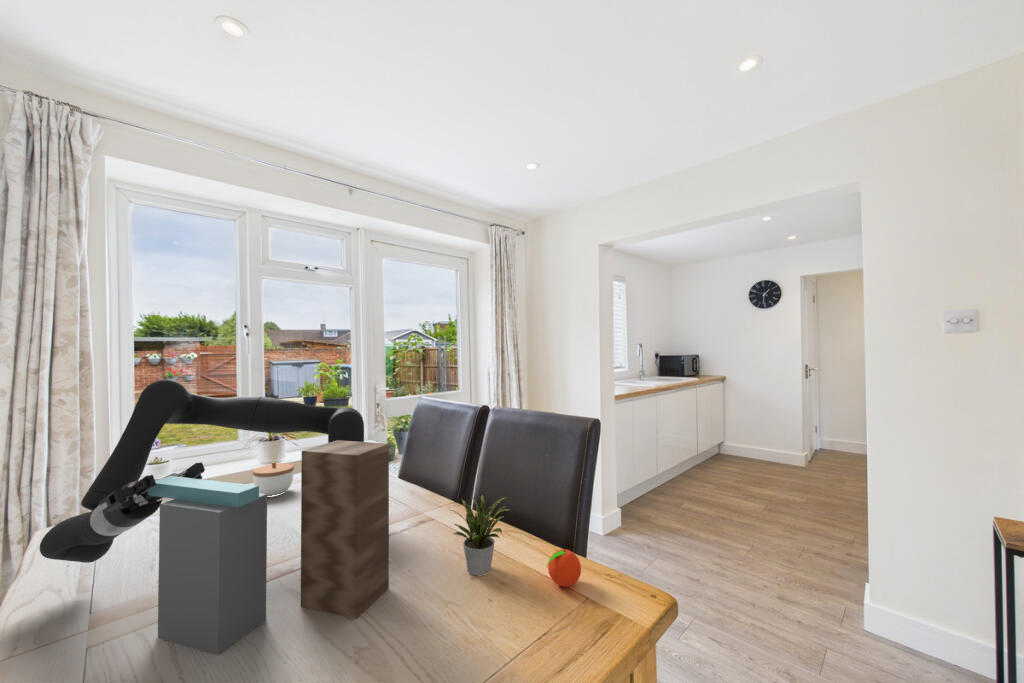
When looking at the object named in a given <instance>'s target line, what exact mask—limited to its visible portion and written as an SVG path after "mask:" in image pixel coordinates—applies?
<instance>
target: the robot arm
mask: <svg viewBox="0 0 1024 683" xmlns="http://www.w3.org/2000/svg"><path fill="white" fill-rule="evenodd" d="M165 425H205V426H206V425H207V426H215V427H220V428H226V429H235V430H241V431H247V432H248V431H249V432H258V433H266V434H267V433H268V434H284V433H285V434H287V433H289V434H290V433H298V432H299V433H301V432H308V433H311V432H312V433H317V434H323V435H327V443H330V442H333V441H337V440H342V441H357V442H365V423H364V419H363V416H362V414H361V413H360V412H359V411H358V410H357V409H355V408H353V407H347V406H346V407H345V406H344V407H341V406H340V407H339V406H337V407H335V406H332V407H331V406H318V405H310V404H306V403H301V402H297V401H292V400H286V399H281V398H276V397H268V396H259V395H240V396H231V397H213V396H212V397H211V396H205V395H200V394H195V393H191V392H188V390H187V388H186V386H184V385H183V384H181V383H180V382H179V381H176V380H174V379H159V380H156V381H154V382H151V383H150V384H147V386H146V387H145V388H144V389H143V390H142V392H141V393H140V395H139V397H138V400H137V402H136V404H135V407H134V409H133V411H132V414H131V416H130V418H129V421H128V422H127V425H126V427H125V429H124V431H123V432H122V434H121V437H120V439H119V440H118V443H117V444H116V446H115V447H114V448H113V451H112V453H111V454H110V455H109V458H108V459H107V461H106V463H105V464H104V465H103V467H102V468H101V470H100V471H99V473H98V474H97V476H96V478H95V479H94V481H93V482H92V483H91V485H90V486H89V488H88V490H87V491H86V493H85V495H84V496H83V498H82V499H81V502H80V505H81V506H82V507H83V508H84V509H86V510H89V511H88V512H85V513H81V514H78V515H74V516H72V517H69V518H66V519H64V520H62V521H60V522H59V523H57V524H55V525H54V526H53V527H52V528H51V529H49V530H48V532H46V533H45V535H44V536H43V537H42V539H41V541H40V544H39V553H40V555H42V557H43V558H47V559H49V560H58V561H65V562H66V561H67V562H68V561H69V562H76V563H85V564H87V563H89V564H90V563H94V562H97V561H98V560H100V559H101V558H102V557H103V556H105V555H106V554H107V552H108V551H109V550H110V549H111V547H112V545H113V543H114V540H115V538H118V536H120V535H121V534H123V533H124V532H127V531H130V530H131V529H132V528H134V527H136V526H137V525H138V524H141V523H142V522H143V521H144V520H146V519H147V518H149V517H151V516H152V515H154V514H155V513H156V512H157V511H158V509H160V504H161V503H163V500H165V498H164V497H157V496H149V495H148V490H150V489H151V488H152V487H154V486H155V485H156V482H155V480H158V479H155V476H154V475H153V474H151V473H150V474H148V475H147V474H146V475H145V476H143V477H142V474H143V472H144V470H145V467H146V465H147V461H148V458H149V457H150V453H151V451H152V447H153V446H154V443H155V441H156V440H157V438H158V435H159V434H160V432H161V430H162V429H163V428H164V426H165ZM205 471H206V469H205V465H204V464H203V462H202V461H198V462H195V463H193V464H192V465H191V466H189V467H188V468H187V469H185V470H183V471H181V472H179V473H178V472H177V473H176V472H174V473H173V472H172V473H171V474H168V475H166V476H164V477H161V478H160V479H162V478H166V477H169V476H177V477H185V478H194V479H203V476H202V474H203V473H204V472H205ZM141 477H142V478H141Z"/></svg>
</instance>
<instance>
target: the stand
mask: <svg viewBox="0 0 1024 683" xmlns="http://www.w3.org/2000/svg"><path fill="white" fill-rule="evenodd" d="M389 450H390V444H389V443H387V442H386V443H385V442H369V441H368V442H367V441H364V442H357V441H342V440H337V441H333V442H330V443H328V442H327V443H323V444H320V445H317V446H314V447H310V448H307V449H303V450H301V474H300V476H301V488H300V489H301V490H300V491H301V492H300V494H301V497H300V498H301V500H300V501H301V502H300V504H301V505H300V508H301V509H300V511H301V512H300V515H301V516H300V607H302V608H305V609H310V610H315V611H319V612H325V613H327V614H328V613H329V614H335V615H338V616H342V617H345V618H346V617H347V618H352V619H355V620H357V619H359V617H361V616H362V615H363V614H364V613H365V612H366V611H368V609H369V608H371V606H373V604H375V602H377V600H379V599H380V598H381V597H382V596H383V595H384V594H385V593H386V592H387V591H388V590H389V589H390V587H389V586H390V583H389V582H390V578H389V577H390V576H389V575H390V568H389V567H390V560H389V559H390V550H389V549H390V548H389V547H390V544H389V543H390V540H389V539H390V537H389V536H390V530H389V528H390V525H389V524H390V523H389V522H390V518H389V517H390V514H389V513H390V508H389V507H390V495H389V494H390V491H389V490H390V479H389V477H390V468H389V466H390V462H389V461H390V457H389V456H390V451H389Z"/></svg>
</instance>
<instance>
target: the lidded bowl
mask: <svg viewBox="0 0 1024 683" xmlns="http://www.w3.org/2000/svg"><path fill="white" fill-rule="evenodd" d="M294 470H295V464H292V463H289V462H288V463H287V462H283V463H282V462H280V463H279V462H278V463H277V462H276V461H273V462H271V463H270V464H265V465H261V466H258V467H256V468H253V470H252V481H253V485H257V486H259V493H262V494H267V496H272V495H277V494H281V493H283V492H285V493H286V491H288V489H290V487H291V486H292V483H293V481H294V473H295V471H294Z"/></svg>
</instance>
